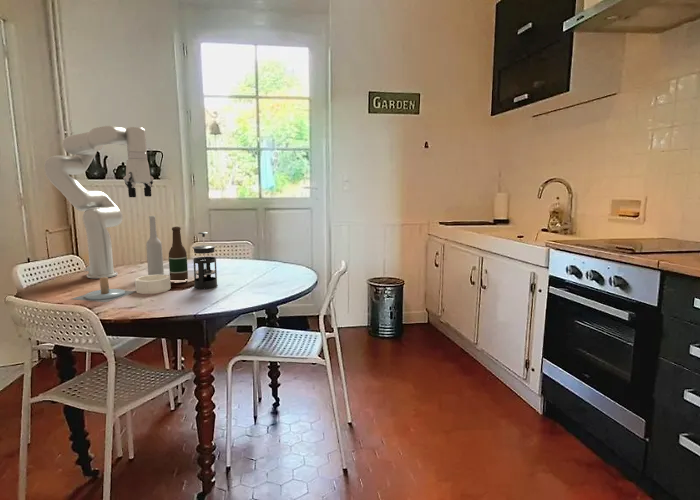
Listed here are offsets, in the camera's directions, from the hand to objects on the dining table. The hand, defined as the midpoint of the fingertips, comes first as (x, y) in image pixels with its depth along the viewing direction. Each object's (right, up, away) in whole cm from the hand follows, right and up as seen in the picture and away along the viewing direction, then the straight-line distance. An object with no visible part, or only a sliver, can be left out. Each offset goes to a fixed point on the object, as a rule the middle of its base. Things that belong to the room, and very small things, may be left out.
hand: (140, 196), depth 197 cm
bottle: (+3, -36, +9) cm, 37 cm away
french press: (+31, -39, -9) cm, 51 cm away
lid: (-2, -40, -24) cm, 47 cm away
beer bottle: (+16, -37, +1) cm, 41 cm away
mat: (-2, -41, -24) cm, 48 cm away
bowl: (+13, -40, -16) cm, 45 cm away
